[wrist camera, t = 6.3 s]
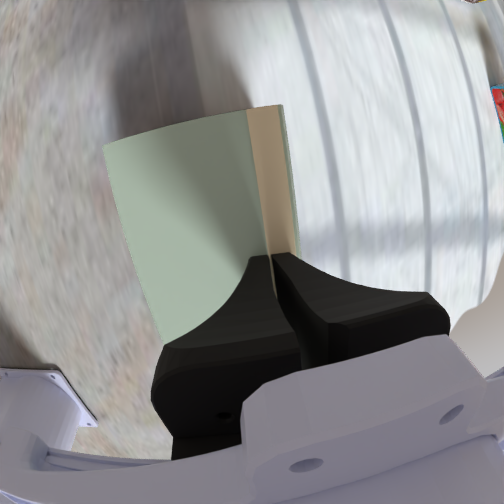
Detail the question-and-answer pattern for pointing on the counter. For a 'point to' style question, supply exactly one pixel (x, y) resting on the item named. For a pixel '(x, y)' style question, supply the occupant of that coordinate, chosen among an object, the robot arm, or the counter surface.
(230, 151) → the lid
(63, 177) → the counter surface
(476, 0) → the supplement bottle
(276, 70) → the counter surface
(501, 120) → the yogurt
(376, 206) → the counter surface
